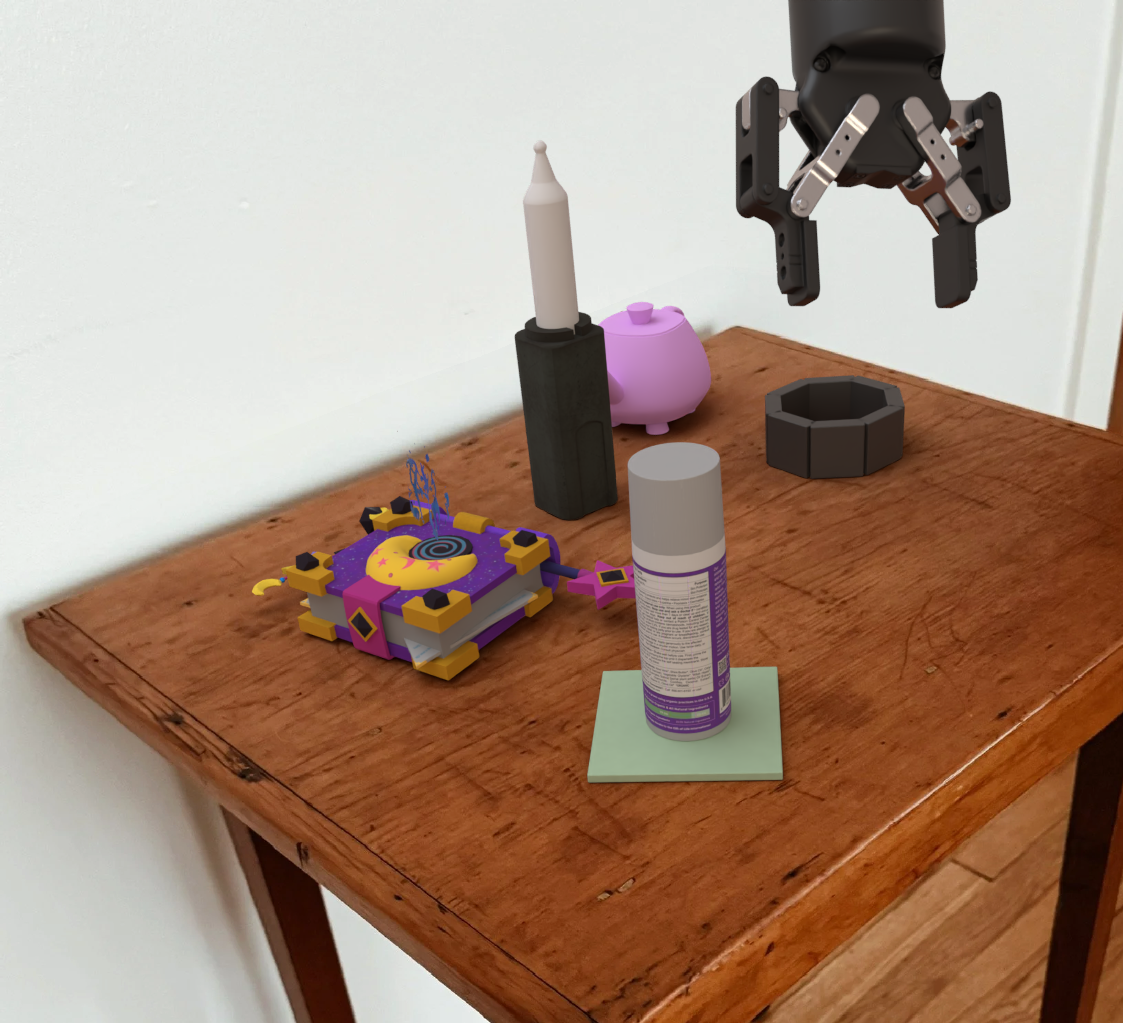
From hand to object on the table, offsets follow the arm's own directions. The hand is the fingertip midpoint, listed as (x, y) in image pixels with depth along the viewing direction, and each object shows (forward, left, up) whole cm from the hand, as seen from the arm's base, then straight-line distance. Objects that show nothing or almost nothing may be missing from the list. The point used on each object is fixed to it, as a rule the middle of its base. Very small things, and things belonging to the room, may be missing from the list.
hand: (880, 303), depth 66 cm
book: (+26, -4, -20) cm, 33 cm away
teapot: (+15, -35, -20) cm, 43 cm away
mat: (+10, +9, -20) cm, 24 cm away
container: (+10, +9, -19) cm, 24 cm away
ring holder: (0, -27, -20) cm, 33 cm away
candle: (+19, -20, -20) cm, 34 cm away
